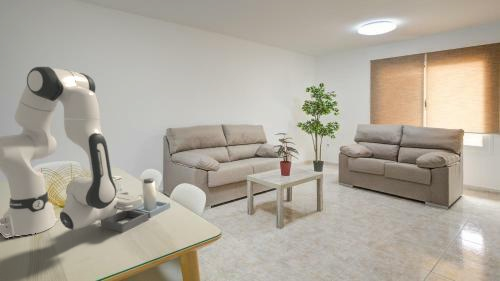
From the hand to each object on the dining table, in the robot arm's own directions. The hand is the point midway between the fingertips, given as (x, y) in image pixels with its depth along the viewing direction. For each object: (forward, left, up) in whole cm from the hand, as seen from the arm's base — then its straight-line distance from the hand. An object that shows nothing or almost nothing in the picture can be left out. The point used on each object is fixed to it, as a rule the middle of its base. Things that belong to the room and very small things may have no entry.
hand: (134, 195), depth 120 cm
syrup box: (-22, +6, -10) cm, 25 cm away
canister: (0, +8, -9) cm, 12 cm away
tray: (0, +8, -10) cm, 13 cm away
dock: (+1, -7, -10) cm, 12 cm away
